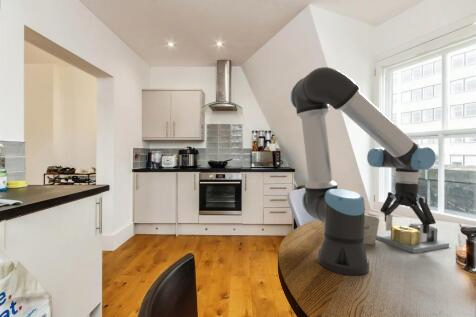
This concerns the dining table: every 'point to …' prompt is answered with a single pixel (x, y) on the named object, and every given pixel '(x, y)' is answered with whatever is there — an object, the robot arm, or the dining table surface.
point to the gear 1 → (405, 235)
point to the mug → (370, 229)
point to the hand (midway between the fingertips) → (404, 235)
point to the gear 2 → (430, 236)
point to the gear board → (413, 248)
